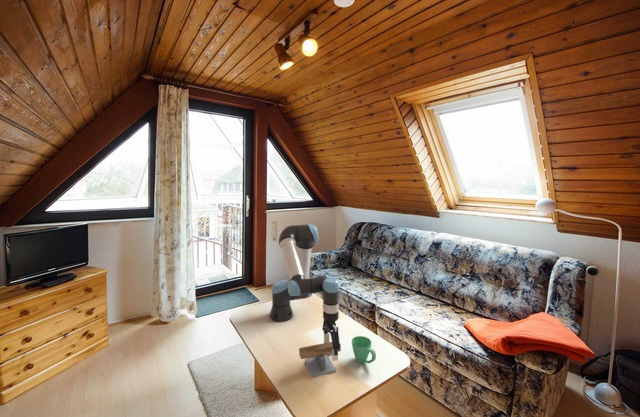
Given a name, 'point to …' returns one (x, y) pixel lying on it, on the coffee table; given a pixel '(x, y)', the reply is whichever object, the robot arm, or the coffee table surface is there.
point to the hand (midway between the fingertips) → (330, 352)
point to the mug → (362, 349)
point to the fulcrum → (320, 365)
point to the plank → (316, 350)
